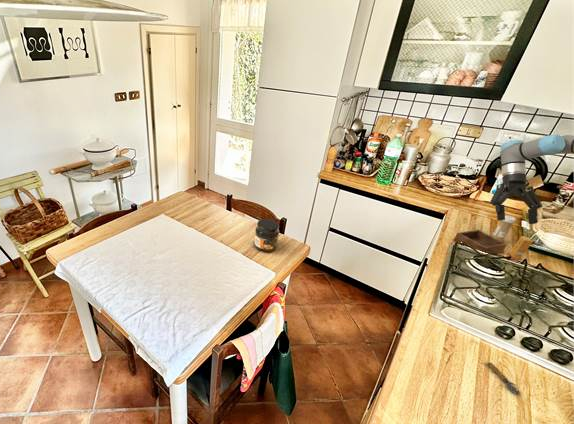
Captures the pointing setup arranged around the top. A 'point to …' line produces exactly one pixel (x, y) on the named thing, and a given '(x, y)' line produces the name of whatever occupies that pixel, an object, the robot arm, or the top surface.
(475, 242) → the holder
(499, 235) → the sprinkles bottle
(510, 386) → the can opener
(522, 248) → the supplement box
